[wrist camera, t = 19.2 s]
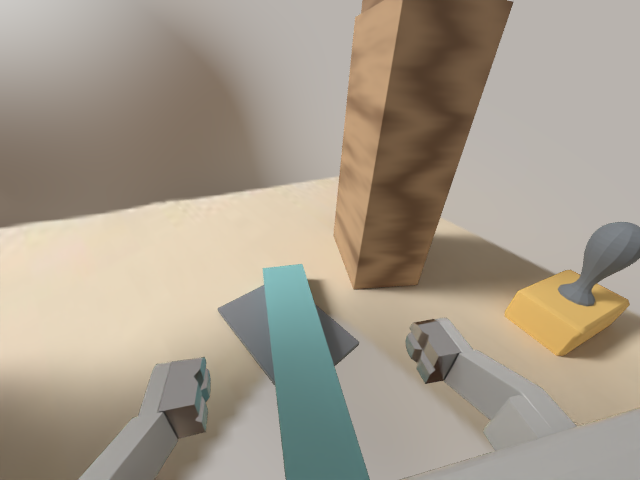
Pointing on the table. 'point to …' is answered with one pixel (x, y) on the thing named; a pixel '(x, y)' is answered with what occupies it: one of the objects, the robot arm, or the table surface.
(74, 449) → the table surface
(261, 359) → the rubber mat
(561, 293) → the rubber stamp
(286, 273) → the teal rectangular bar
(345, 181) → the walnut stand
